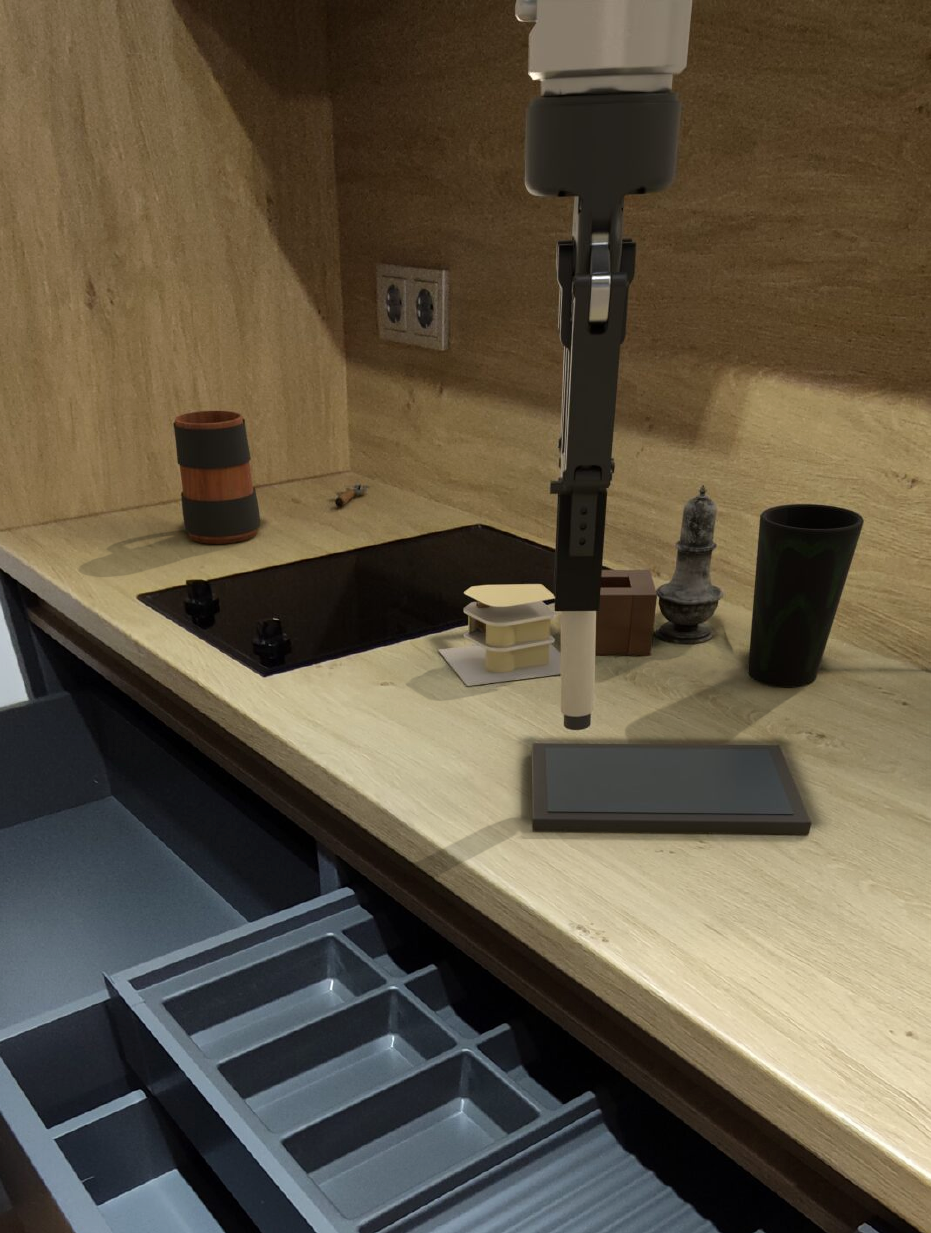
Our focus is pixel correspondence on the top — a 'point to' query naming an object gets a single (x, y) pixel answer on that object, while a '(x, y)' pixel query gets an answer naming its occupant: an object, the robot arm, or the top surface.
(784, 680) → the cup
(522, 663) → the stacked layers on plate
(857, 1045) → the top surface
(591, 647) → the stylus
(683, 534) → the salt shaker
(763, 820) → the tablet
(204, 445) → the mug
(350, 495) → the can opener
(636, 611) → the holder
